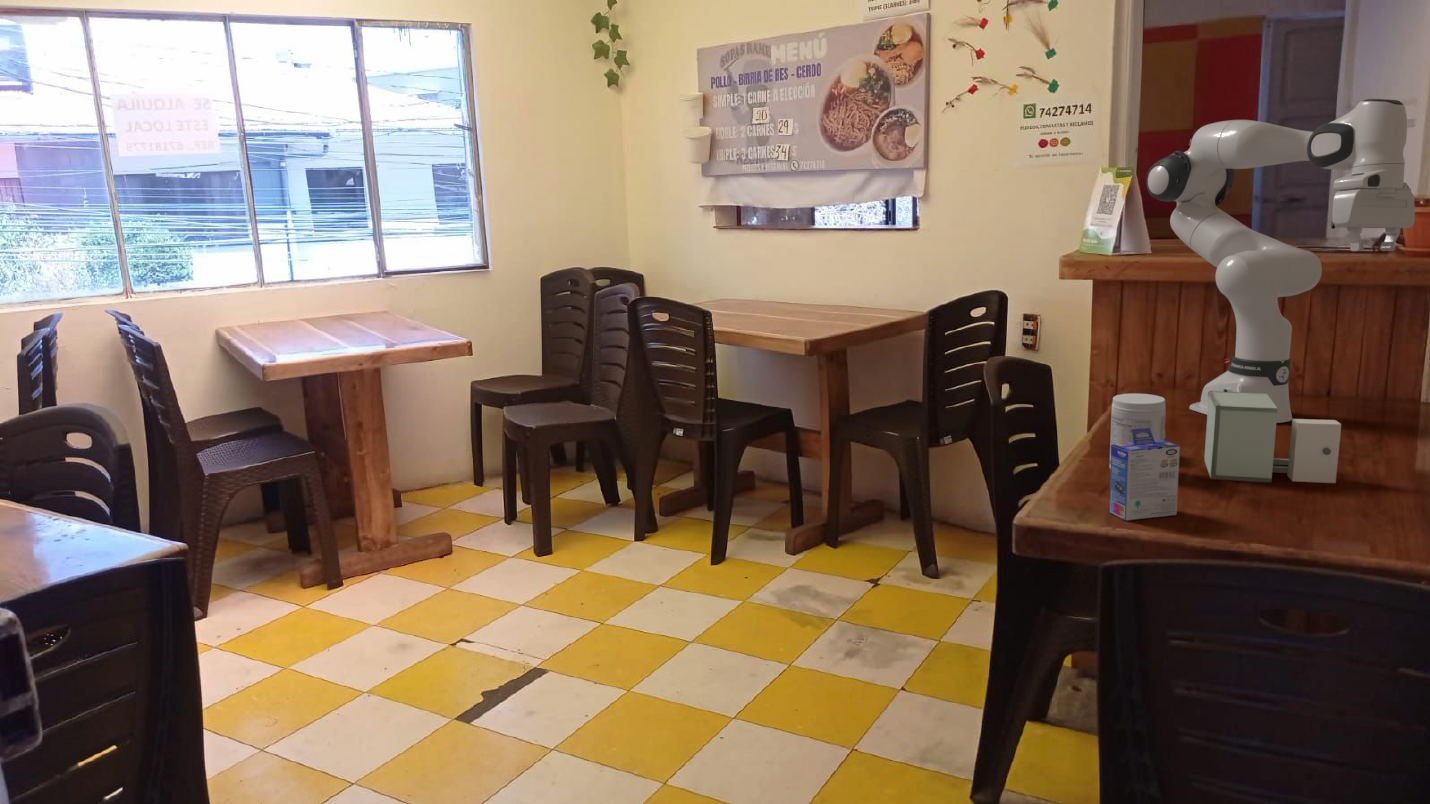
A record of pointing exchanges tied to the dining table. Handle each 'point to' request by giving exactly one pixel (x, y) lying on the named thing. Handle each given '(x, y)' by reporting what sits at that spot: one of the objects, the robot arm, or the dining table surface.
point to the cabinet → (1241, 437)
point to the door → (1314, 450)
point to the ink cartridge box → (1144, 477)
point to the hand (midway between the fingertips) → (1372, 250)
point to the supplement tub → (1136, 417)
